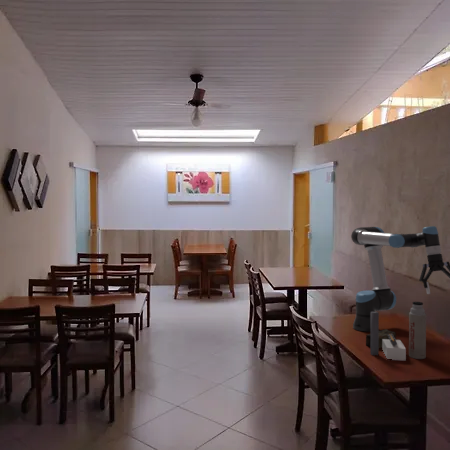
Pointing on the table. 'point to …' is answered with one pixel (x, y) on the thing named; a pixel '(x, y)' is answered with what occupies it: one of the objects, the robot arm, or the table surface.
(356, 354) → the table surface
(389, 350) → the breaker box
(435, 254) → the robot arm
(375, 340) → the post
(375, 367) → the table surface
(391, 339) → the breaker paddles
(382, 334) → the beverage carton
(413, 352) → the thermos bottle
